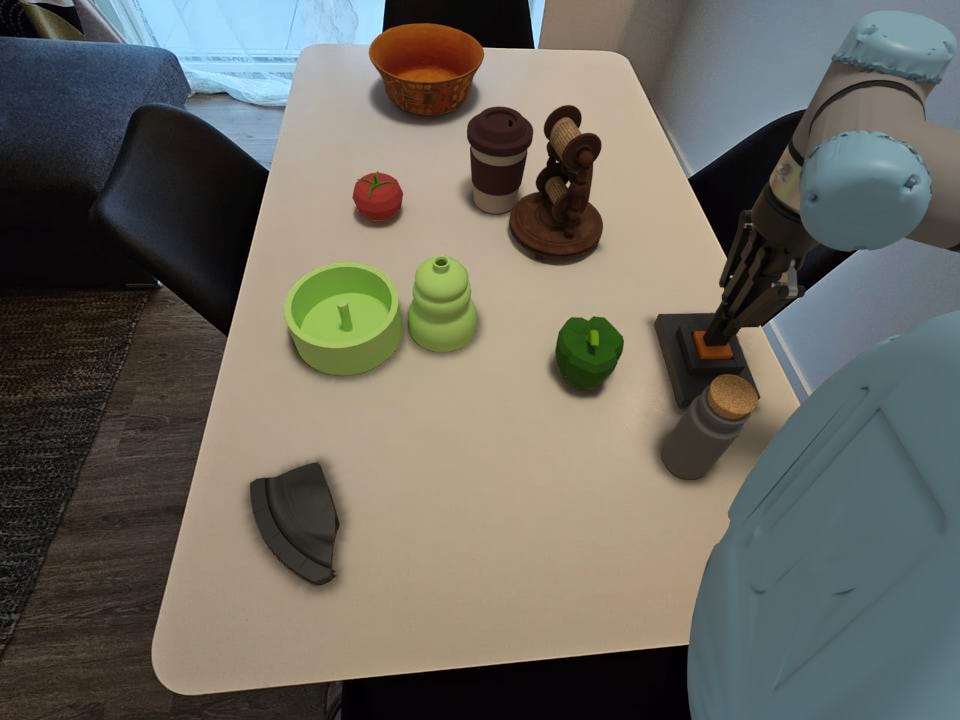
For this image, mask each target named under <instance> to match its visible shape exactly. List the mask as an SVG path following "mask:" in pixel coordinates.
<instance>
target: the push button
mask: <svg viewBox="0 0 960 720" xmlns="http://www.w3.org/2000/svg"><path fill="white" fill-rule="evenodd" d="M715 313H716V312H694V313H693V312H690V313H689V312H686V313H685V312H684V313H658V314H657V316H656V318H655V321H654V328H655V332H656V335H657V338H658V342H659V345H660V349H661V353H662V355H663V359H664V362H665V365H666V369H667V372H668V376H669V379H670V382H671V387H672V390H673V392H674V396H675V400H676V403H677V407H678V409H687V408H688V407H689V405H690V404H691V403H692V401H693V400H694V399H695V398H696V397H697V396H699V395H701V394H702V392H703V391H704V390H705V388H706V387H708V386H709V385H711V383H712V381H713V380H714V379H715V378H716V377H718V376H720V375H724V374H732V375H736V376H739V377H741V378H743V379H745V380H746V381H748V382H749V383H750V384H751V385H752V386H753V388H754V389H755V391H756V393H757V397H758V401H759V400H760V399H761V394H760V391H759V389H758V387H757V384H756V382H755V379H754V377H753V374H752V371H751V369H750V366H749V364H748V361H747V359H746V356H745V354H744V351H743V349H742V346H741V344H740V342H739V338H738V336H737V335H735V336H732V338H731V339H730V341H729V342H728V343H729V345H730V348H731V351H732V353H733V356H732V357H731V359H729V360H700V359H699V356H698V353H697V350H696V347H695V344H694V341H693V338H692V335H693V334H694V332H695V331H707V329H708V327H709V326H710V324H711V322H712V321H713V319H714V317H715Z"/></svg>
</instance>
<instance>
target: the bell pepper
mask: <svg viewBox="0 0 960 720" xmlns="http://www.w3.org/2000/svg"><path fill="white" fill-rule="evenodd" d="M624 344H625V340H624V337H623V335H622V334H621V333H620V332H619V330H617V328H616V327H615V326H614V325H613V324H612V323H611V322H610V321H609V320H608V319H607V317H605V316H595V315H593V316H592V317H590V319H589V320H588V319H586V318H584V317H579V316H578V317H577V316H571V317H570V318H568V319H567V320H566V322H565V323H564V324H563V326H562V327H561V328H560V330H559V331H558V333H557V339H556V344H555V350H554V353H555V354H554V355H555V363H556V367H557V369H558V371H559V373H560V374H561V375H562V377H564V378H565V380H566V382H568V383H569V384H570V386H572V387H573V388H575V389H580V390H584V391H587V390H591V389H596V388H597V387H598V386H599V385H600V384H602V383H603V382H604V381H605V380H606V379H607V378H609V376H610V375H611V374H613V372H614V371H615V369H616V368H617V365H618V364H619V363H618V362H619V361H620V358H621V356H622V354H623V351H624V346H625V345H624Z"/></svg>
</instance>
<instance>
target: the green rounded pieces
mask: <svg viewBox="0 0 960 720" xmlns="http://www.w3.org/2000/svg"><path fill="white" fill-rule="evenodd" d="M471 296H472V286H471V282H470V280H469V272H468V270H467V268H466V267H465V266H464V265H463V264H462V263H461V262H460V261H459V260H457V259H456V258H453V257H450V256H447V255H443V254H439V255H436V256H433V257H430V258H427V259H426V260H424V261H423V262H422V263H421V264H420V265H419V266H418V268H416V270H415V274H414V281H413V286H412V297H413V299H412V300H411V303H410V304H409V308H408V313H407V316H408V317H407V318H408V327H409V328H408V329H409V333H410V336H411V337H412V339H413V341H415V342H416V344H417V345H419V346H420V347H422V348H423V349H426V350H428V351H431V352H435V353H450V352H454V351H457V350H461V349H462V348H463V347H465V346H467V345H468V344H469V343H470V342H471V341H472V340H473V338H474V336H475V334H476V331H477V322H478V321H477V320H478V317H477V316H478V315H477V307H476V305H475V302H474V300H473V299H472V297H471ZM400 307H401V306H400V300H399V293H398V291H397V287H396V285H395V284H394V282H393V281H392V279H391V278H389V276H388V275H387V274H386V273H384V272H382V271H381V270H379V269H378V268H376V267H374V266H371V265H368V264H365V263H361V262H351V261H347V262H345V261H344V262H335V263H329V264H326V265H323V266H320V267H317V268H315V269H312V270H311V271H308V272H307V273H305V274H304V275H303V276H301V277H300V278H299V279H298V280H297V281H296V282H295V283H294V285H293V286H292V287H291V288H290V290H289V292H288V293H287V295H286V298H285V300H284V307H283V312H284V318H285V322H286V324H287V327H288V329H289V332H290V335H291V338H292V340H293V342H294V345H295V347H296V350H297V352H298V354H299V356H300V357H301V358H302V360H303V361H304V362H305V363H306V364H307V365H309V366H310V367H311V368H312V369H314V370H317V371H319V372H321V373H324V374H328V375H332V376H341V377H343V376H355V375H358V374H363V373H366V372H369V371H372V370H374V369H376V368H377V367H379V366H380V365H382V364H383V363H385V362H386V361H387V360H388V359H389V358H390V357H392V356H393V354H394V352H396V350H397V348H398V347H399V344H400V342H401V339H402V334H403V325H402V323H403V322H402V316H401V308H400Z"/></svg>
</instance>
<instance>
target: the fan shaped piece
mask: <svg viewBox="0 0 960 720" xmlns="http://www.w3.org/2000/svg"><path fill="white" fill-rule="evenodd" d="M249 494H250V504H251V509H252V513H253V517H254V520H255V523H256V525H257V528H258V531H259V532H260V534H261V536H262V538H263V539H264V541H265V542H266V544H267V545H268V546H269V548H270V549H271V550H272V551H273V552H274V553H275V555H276V556H277V557H278V558H279V559H280V561H281V562H283V563H284V564H285V565H286V566H287V567H289V568H290V569H291V570H292V571H293V572H295V573H296V574H298V575H300V576H301V577H303V578H304V579H307V580H309V581H311V582H313V583H315V584H317V585H324V584H327V583H329V582H332V581H333V579H334V578H333V575H334V574H335V573H336V572H337V570H334V569H333V555H334V554H333V552H334V545H335V541H336V537H337V532H338V530H339V528H340V520H339V517H338V513H337V509H336V505H335V502H334V499H333V496H332V492H331V489H330V487H329V484H328V481H327V480H326V477H325V474H324V471H323V468H322V466H321V464H320V462H318V461H317V462H311V463H307V464H305V465H304V464H303V465H301V466H298V467H294V468H293V469H290V470H289V471H286V472H284V473H282V474H279V475H276V476H272V477H266V476H265V477H260V478H256V479H254V480H252V481H250V482H249Z"/></svg>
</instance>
